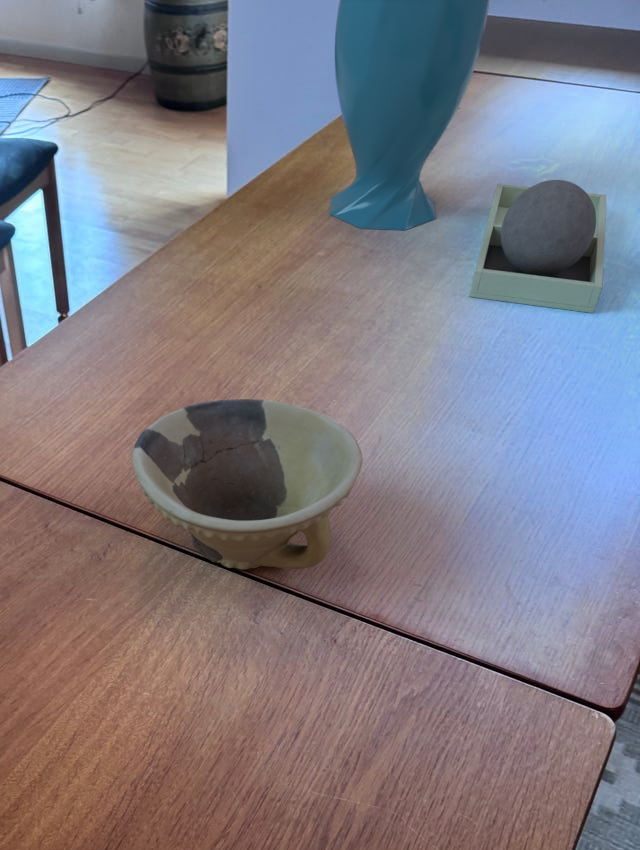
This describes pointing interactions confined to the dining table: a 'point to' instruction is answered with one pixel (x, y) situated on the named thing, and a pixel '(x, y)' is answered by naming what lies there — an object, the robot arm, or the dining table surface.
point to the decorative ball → (548, 228)
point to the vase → (400, 98)
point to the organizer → (556, 291)
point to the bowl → (249, 478)
